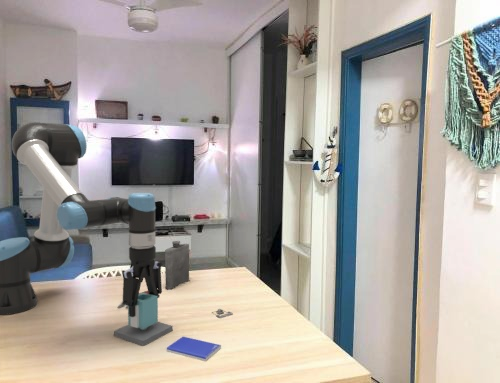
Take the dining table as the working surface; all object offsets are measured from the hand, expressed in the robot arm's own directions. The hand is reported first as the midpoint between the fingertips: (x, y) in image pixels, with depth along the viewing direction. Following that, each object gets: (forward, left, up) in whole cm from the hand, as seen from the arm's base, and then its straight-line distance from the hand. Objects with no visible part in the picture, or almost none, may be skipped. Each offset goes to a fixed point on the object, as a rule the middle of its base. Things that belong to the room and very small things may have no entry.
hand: (143, 322), depth 121 cm
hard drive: (+19, 0, -4) cm, 20 cm away
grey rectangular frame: (+15, +26, -4) cm, 30 cm away
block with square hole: (0, 0, 0) cm, 0 cm away
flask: (-23, +41, -4) cm, 47 cm away
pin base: (0, 0, -3) cm, 3 cm away
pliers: (-26, +19, -4) cm, 33 cm away
